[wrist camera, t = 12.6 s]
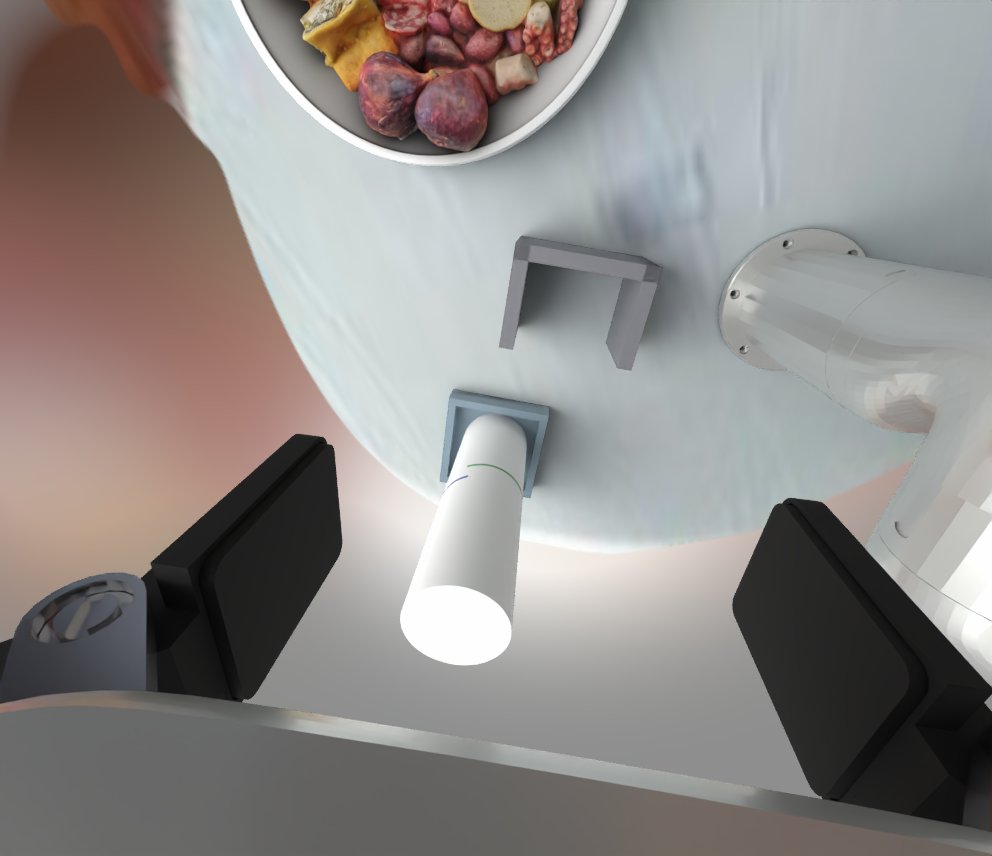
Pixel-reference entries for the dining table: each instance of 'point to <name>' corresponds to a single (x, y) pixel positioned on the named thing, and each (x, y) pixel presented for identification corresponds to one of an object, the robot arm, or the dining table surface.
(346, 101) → the bowl
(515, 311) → the bay
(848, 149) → the dining table surface
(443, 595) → the cylindrical container
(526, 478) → the tray
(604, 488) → the dining table surface
